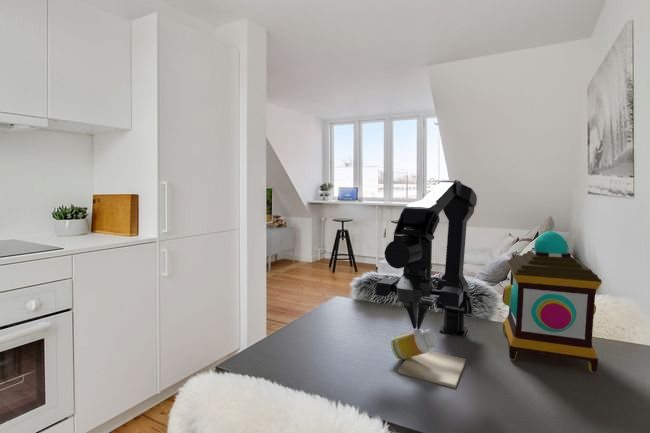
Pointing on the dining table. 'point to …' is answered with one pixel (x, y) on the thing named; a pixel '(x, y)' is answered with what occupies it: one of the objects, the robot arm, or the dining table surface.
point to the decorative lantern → (551, 302)
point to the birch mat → (434, 368)
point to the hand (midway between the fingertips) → (416, 328)
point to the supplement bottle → (413, 343)
